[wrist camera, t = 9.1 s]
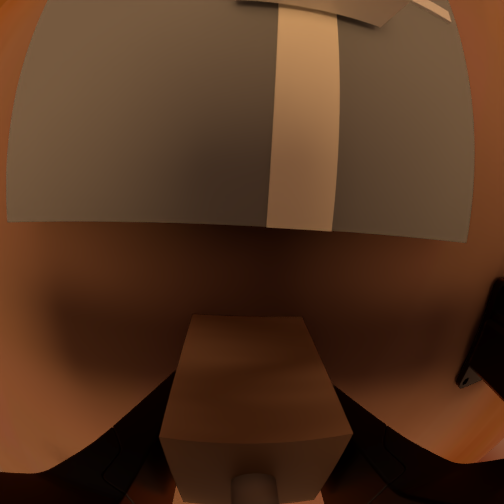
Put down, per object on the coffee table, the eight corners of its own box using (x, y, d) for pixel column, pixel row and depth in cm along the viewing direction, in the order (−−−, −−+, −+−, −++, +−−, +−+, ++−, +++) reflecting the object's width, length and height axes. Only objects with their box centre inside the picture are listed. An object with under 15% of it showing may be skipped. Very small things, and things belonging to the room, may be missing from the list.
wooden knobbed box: (301, 316, 9) (369, 471, 3) (288, 393, 10) (320, 525, 4) (192, 314, 9) (149, 479, 3) (197, 392, 10) (181, 529, 4)
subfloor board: (420, -16, 5) (438, -30, 4) (440, 233, 8) (470, 244, 7) (90, -38, 4) (77, -55, 3) (33, 215, 7) (3, 223, 6)
